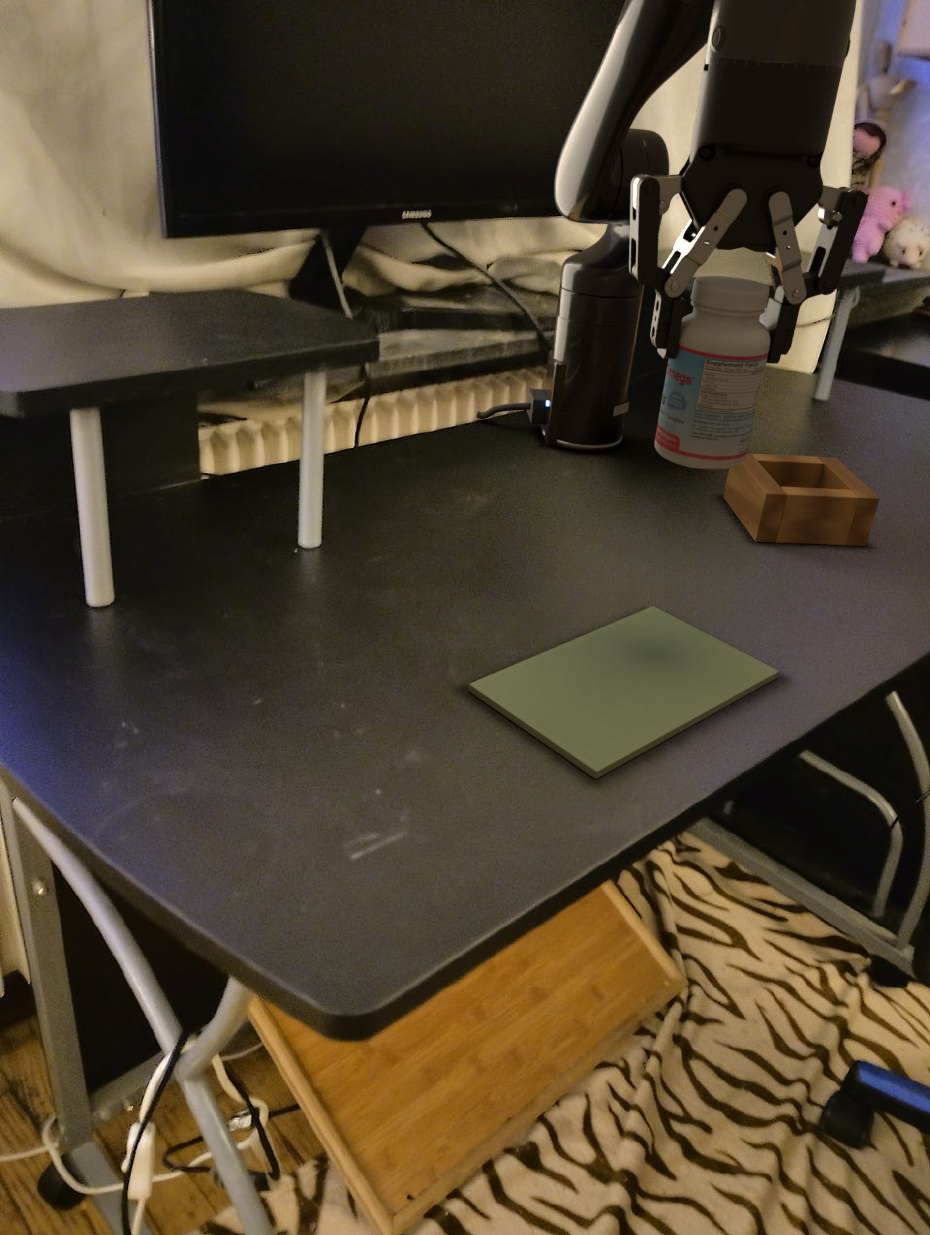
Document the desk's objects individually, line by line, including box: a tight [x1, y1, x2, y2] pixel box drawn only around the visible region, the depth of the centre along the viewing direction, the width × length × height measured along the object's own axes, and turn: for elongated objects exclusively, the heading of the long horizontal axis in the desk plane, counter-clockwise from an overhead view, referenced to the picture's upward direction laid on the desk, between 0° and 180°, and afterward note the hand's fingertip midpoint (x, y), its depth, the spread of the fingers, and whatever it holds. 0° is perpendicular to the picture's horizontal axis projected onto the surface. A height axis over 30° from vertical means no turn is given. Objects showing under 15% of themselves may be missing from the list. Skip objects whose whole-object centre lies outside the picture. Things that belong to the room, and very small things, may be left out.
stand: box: [722, 452, 881, 547], centre depth 98 cm, size 11×11×5 cm
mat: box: [467, 605, 780, 780], centre depth 70 cm, size 20×12×1 cm, turn 131°
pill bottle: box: [654, 275, 770, 470], centre depth 63 cm, size 6×6×11 cm
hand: (716, 357), depth 63 cm, fingers closed on pill bottle, 6 cm apart
